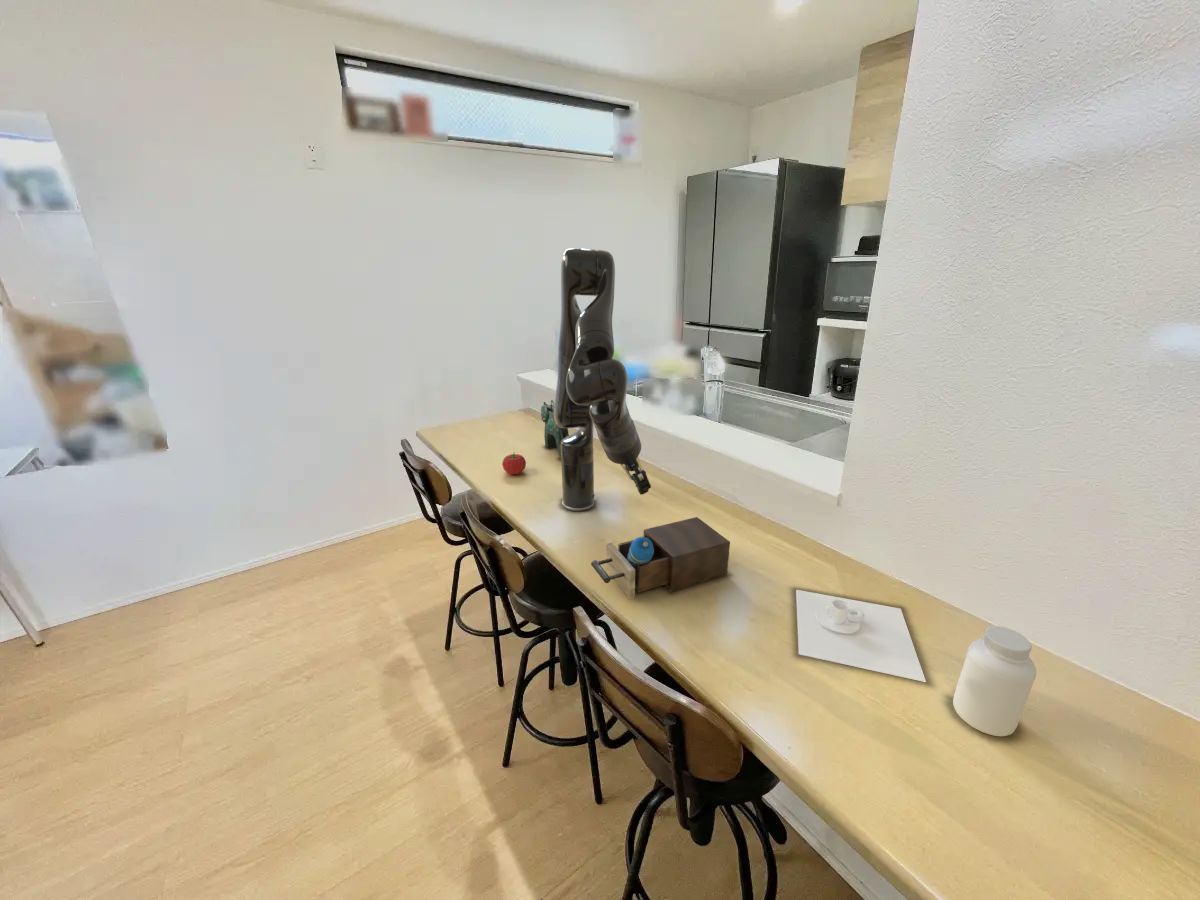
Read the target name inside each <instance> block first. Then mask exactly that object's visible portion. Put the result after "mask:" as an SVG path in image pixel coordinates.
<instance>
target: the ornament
mask: <svg viewBox="0 0 1200 900" xmlns="http://www.w3.org/2000/svg"><path fill="white" fill-rule="evenodd" d="M632 540H633V542H632V543H631V547H630V549H629V553H628V557H627V561H628V562H629V563H630V564H631V565H632V566H633V568H636V567H638V565H640V564H644V563H647V562H648V561H650V560H651V558H652V556H653V553H654V548H653V544H652V542H651V541H650V540H649V539H648V538H646V537H644V536H638V537H636V538H634V539H632Z"/></svg>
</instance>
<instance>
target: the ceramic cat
mask: <svg viewBox="0 0 1200 900" xmlns="http://www.w3.org/2000/svg"><path fill="white" fill-rule="evenodd" d="M554 402H555V401H554V400H553V399H551V400H550V404H548V403H546V402H545V401H543V405H542V406H541V407H540V420H541V421H542V422H543V423H544V430H543V431H544V434H543V436H544V438H543V439H544V447H545V448H547V449H554V448H557V446H556V442H557V445H558V449H557V451H558V457H559V460H560V461H561V441H562V440H563V439H564V438H565V437H567V436H569V435H570V433H569V428H560V427H558V426H557V424H556V422H555V419H554Z"/></svg>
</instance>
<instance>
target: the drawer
mask: <svg viewBox="0 0 1200 900" xmlns="http://www.w3.org/2000/svg"><path fill="white" fill-rule="evenodd" d="M646 538H648V539H649V540H650V541H651V542H652V544H653V548H654V553H653V556H652V558H651V560H650V561H648V562H647V563H644V564H640V565H638V567H636V568H633V566H632V565H631V564H630V563H629V562H628V561H627V557H628V553H629V549H630V547H631V543H632V542H633V540H634V539H632V540H628V541H624V542H620V543H618V544H617V547H618V548H617V547H616V546H615V544H613V543H612V542H608V543H606V558H605V559H603V560H596V559H594V560H592V561H591V563H590V566H591V567H592V568H593V569H594V571H595V572H596V573H597V575H598V576H599V577H600V578H601V579H602V581H603V583H604V584H609V583H611V581H613V580H614V581H615V582H616V583H617V585H618V586H619V587H620V589H621V590H622V591H623V593H624V594H625V595H626V596H627V597H628V599H634V598H635V597H636V591H637V592H638V593H640V592H644V591H648V590H651V589H654V588H657V587H661V586H665V584H668V583H670V567H671V558H670V557H669V556H668V555H667V554H666V553H664V552H663V551H662V550H661V549H660V548H659V547H658V546H657V545H656V544H655V543H654V542H653V541H652V540H651V539H650V538H649V537H646ZM604 564H606V570H605V568H604V567H602V565H604ZM606 571H607V572H606ZM608 573H609V574H608Z"/></svg>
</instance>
